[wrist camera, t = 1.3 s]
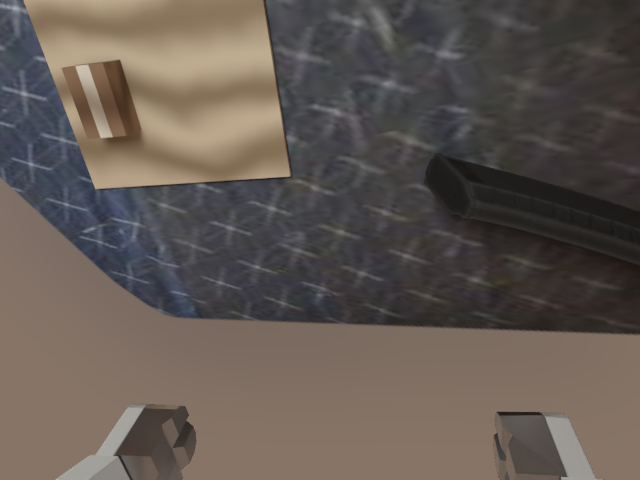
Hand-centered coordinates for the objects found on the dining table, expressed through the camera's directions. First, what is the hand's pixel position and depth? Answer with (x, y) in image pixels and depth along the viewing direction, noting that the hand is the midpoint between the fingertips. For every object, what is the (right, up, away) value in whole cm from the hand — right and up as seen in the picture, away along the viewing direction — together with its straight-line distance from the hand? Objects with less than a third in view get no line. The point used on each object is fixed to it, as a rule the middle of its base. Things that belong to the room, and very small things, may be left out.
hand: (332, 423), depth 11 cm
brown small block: (-22, +20, +34) cm, 45 cm away
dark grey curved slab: (+26, +9, +33) cm, 43 cm away
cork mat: (-16, +20, +33) cm, 42 cm away
